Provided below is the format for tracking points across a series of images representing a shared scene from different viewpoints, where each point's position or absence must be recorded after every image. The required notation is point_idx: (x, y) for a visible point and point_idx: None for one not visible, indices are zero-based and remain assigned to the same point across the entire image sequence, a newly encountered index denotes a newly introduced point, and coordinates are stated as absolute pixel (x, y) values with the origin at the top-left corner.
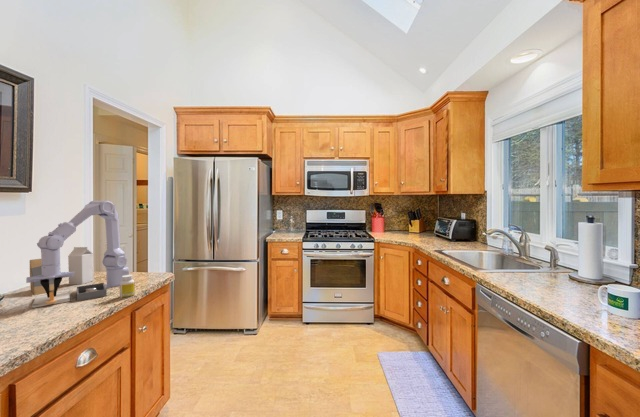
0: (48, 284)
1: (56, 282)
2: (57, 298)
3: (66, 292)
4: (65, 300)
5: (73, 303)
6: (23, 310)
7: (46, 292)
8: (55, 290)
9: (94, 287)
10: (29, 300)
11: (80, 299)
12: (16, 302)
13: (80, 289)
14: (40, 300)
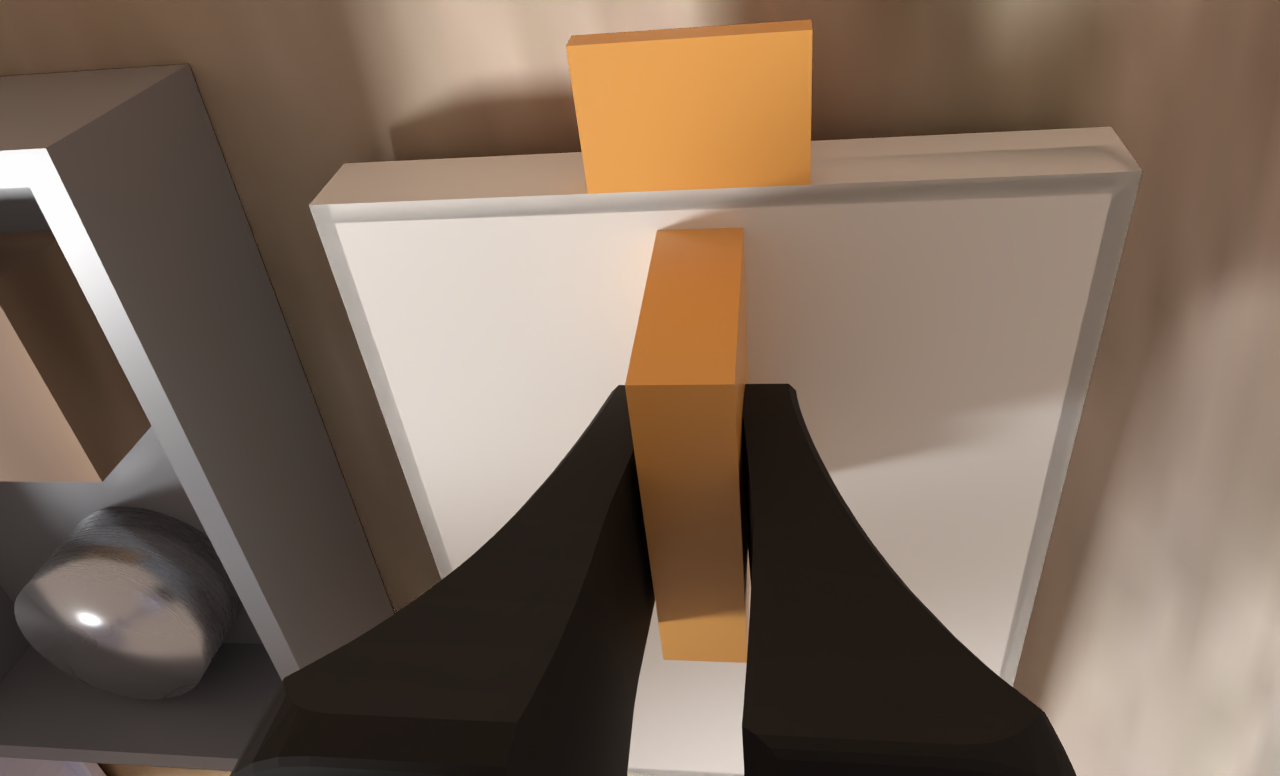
0: (749, 657)
1: (445, 676)
2: (603, 376)
3: None
4: (414, 178)
5: (251, 22)
6: (1269, 169)
7: (820, 467)
8: (582, 475)
9: (63, 651)
10: None
11: (89, 87)
12: (1238, 769)
13: None
14: (936, 455)
